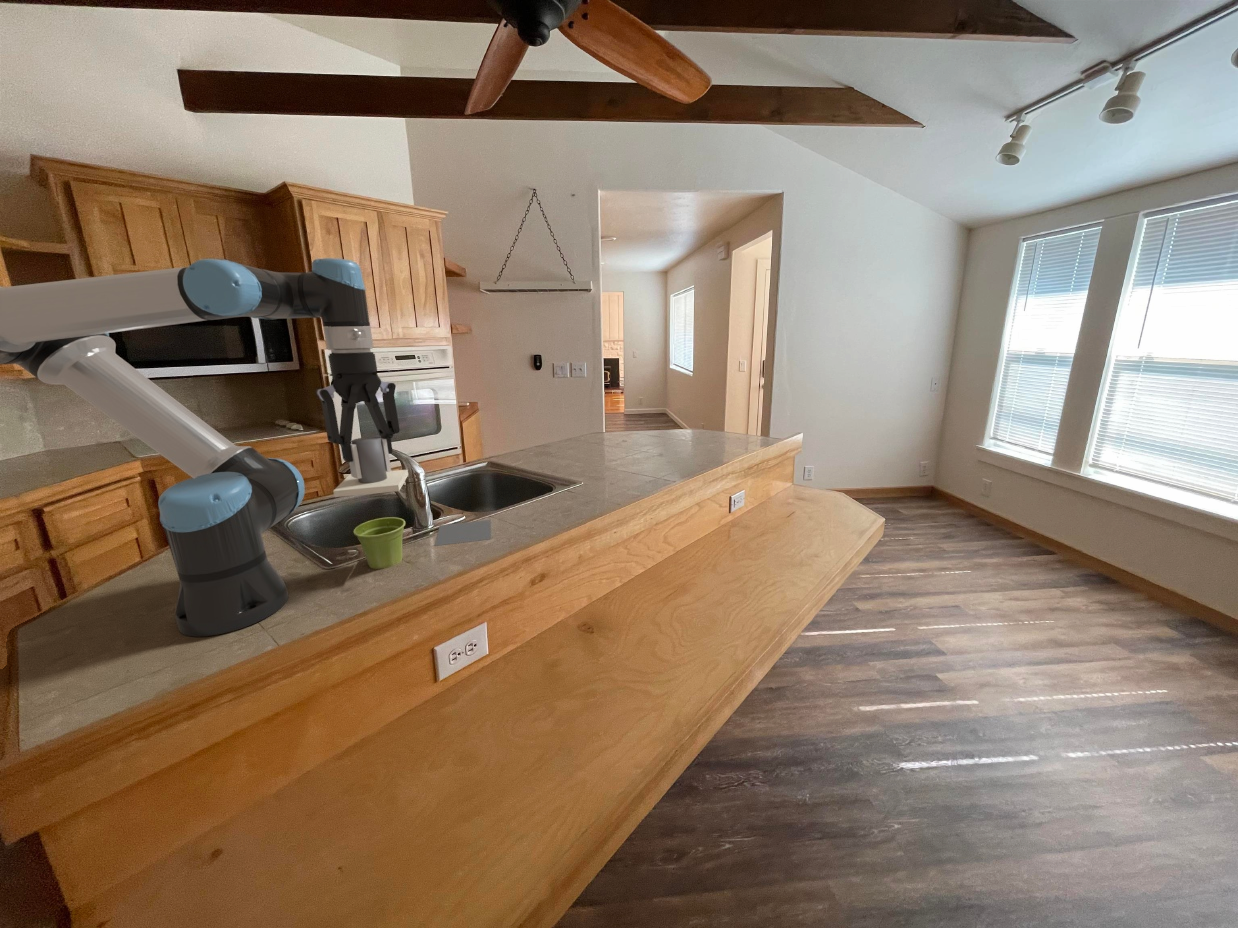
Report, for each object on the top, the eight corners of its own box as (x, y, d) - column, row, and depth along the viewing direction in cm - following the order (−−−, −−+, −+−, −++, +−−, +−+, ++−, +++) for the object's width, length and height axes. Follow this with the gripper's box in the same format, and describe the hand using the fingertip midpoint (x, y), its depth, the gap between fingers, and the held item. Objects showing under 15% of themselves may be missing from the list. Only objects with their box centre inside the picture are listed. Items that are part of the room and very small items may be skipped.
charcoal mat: (491, 542, 109) (490, 538, 108) (435, 549, 106) (434, 545, 106) (491, 522, 120) (490, 519, 120) (440, 528, 117) (439, 525, 117)
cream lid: (399, 491, 90) (391, 443, 88) (334, 497, 88) (325, 448, 85) (408, 475, 101) (401, 432, 98) (350, 480, 98) (342, 436, 96)
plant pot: (410, 570, 96) (404, 530, 94) (358, 580, 93) (350, 538, 91) (411, 551, 105) (405, 514, 102) (363, 559, 101) (356, 521, 99)
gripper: (303, 354, 78) (329, 489, 85) (409, 349, 92) (424, 466, 98) (287, 353, 83) (313, 481, 89) (390, 349, 96) (406, 460, 103)
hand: (371, 473), depth 94 cm, fingers closed on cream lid, 5 cm apart
